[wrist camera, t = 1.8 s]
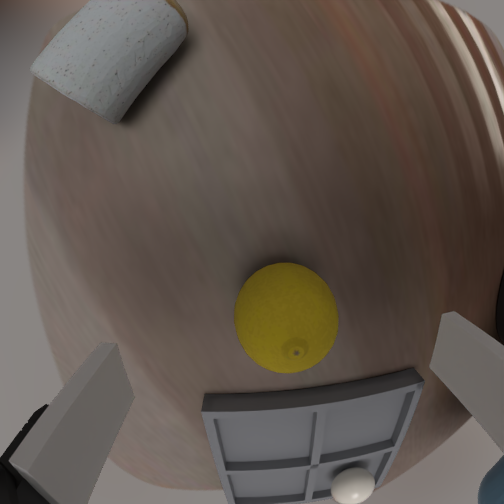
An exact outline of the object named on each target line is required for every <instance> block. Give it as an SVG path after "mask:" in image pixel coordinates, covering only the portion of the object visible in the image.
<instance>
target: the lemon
mask: <svg viewBox="0 0 504 504" xmlns="http://www.w3.org/2000/svg"><path fill="white" fill-rule="evenodd" d="M338 317H339V316H338V310H337V306H336V302H335V298H334V296H333V294H332V292H331V290H330V289H329V287H328V285H327V284H326V282H325V281H324V280H323V279H322V278H321V277H319V276H318V275H317V274H316V273H315V272H314V271H312V270H310V269H308V268H306V267H304V266H302V265H298V264H294V263H276V264H272V265H268V266H266V267H264V268H262V269H260V270H258V271H256V272H255V273H254V274H253V275H252V276H251V277H250V278H249V279H247V281H246V282H245V284H244V285H243V287H242V288H241V290H240V292H239V294H238V297H237V300H236V303H235V310H234V324H235V328H236V332H237V336H238V339H239V341H240V343H241V345H242V346H243V348H244V350H245V352H246V353H247V355H249V356H250V357H251V358H252V359H253V360H254V361H255V362H256V363H257V364H258V365H260V366H262V367H264V368H266V369H268V370H271V371H274V372H278V373H295V372H300V371H303V370H306V369H308V368H311V367H312V366H314V365H315V364H317V363H319V362H320V361H321V360H322V359H323V358H324V357H325V356H326V355H327V353H328V352H329V350H330V349H331V347H332V346H333V344H334V341H335V338H336V336H337V332H338Z"/></svg>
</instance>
